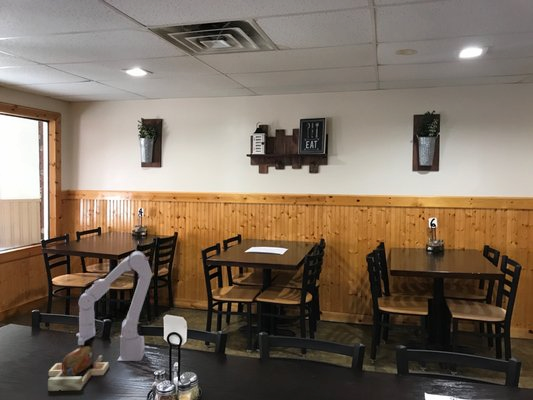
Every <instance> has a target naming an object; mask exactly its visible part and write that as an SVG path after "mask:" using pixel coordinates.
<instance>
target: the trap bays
mask: <svg viewBox="0 0 533 400" xmlns="http://www.w3.org/2000/svg"><path fill="white" fill-rule="evenodd" d="M109 365H110V364H109V361H106V362H105V361H103V362H102V361H101V362H97V363H96V368H91V369H92V370H91V376H104V374H105V373H106V372H107V370H108V369H109ZM61 370H62V362H56V363H55V364H54V365H53V366H52V367H51V368H50V369H49V370H48V377H56V376H57V375H58V374H59V372H60V371H61Z"/></svg>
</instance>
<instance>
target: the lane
mask: <svg viewBox="0 0 533 400" xmlns="http://www.w3.org/2000/svg"><path fill="white" fill-rule="evenodd" d="M102 361H103V355H102V354H101V355H98V356H97V358H96V360H95V361H94V362H92V363H93V365H92V366H93V368H96V363H97V362H102ZM93 368H89V369H88V370H87V371H86V372H85V374H84V376H81V375H80V376H76V375H75V376H65V375H64V374H63V372H62V370H61V371H60V372H59V374H58V375H57V376H49V378H48V379H47V391H48V392H55V391H56V392H57V391H58V392H59V390H61V391H62V392H63V391H81V390H82V389H83V387H84V386H85V384H86V383H87V382H88V380H89V379H90V377H91V376H92V375H91V370H92V369H93ZM61 391H60V392H61Z"/></svg>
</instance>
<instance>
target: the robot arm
mask: <svg viewBox="0 0 533 400" xmlns="http://www.w3.org/2000/svg"><path fill="white" fill-rule="evenodd" d="M132 269H133V270H134V271H135V272H136V273H137V274H138V277H139V278H138V280H137V281H138V282H137V285H136V288H135V291H134V294H133V297H132V300H131V304H130V306H129V310H128V311H127V315H126V317H125V318H124V319H123V321H122V323H121V330H120V334H121V335H119V336H120V339H119V340H120V347H119V348H120V350H119V351H120V355H119V357H118V359H117V362H141V361H142V359H143V357H144V356H145V352H146V351H145V337H144V336H143V335H139V333H138V323H139V319H140V314H141V311H142V308H143V305H144V302H145V298H146V297H147V292H148V290H149V287H150V283H151V279H152V278H153V273H152V269H151V266H150V263H149V259H148V257H147V256H146V255H145V253H144V252H142V251H139V250H136V251H133V252H131V254H130V255H128V256H127V257H125V258H124V259H123V260H122V261H120V263H118V265H117V266H116V267H115V268H114V269H113V270H111V271H110V272H109V273H108V274H107V276H106V277H105V278H100V279H97V280H95V281H94V282H93V284H92V286H90V287H89V288H88V289H85V291H84V293H82V294H81V295H80V297H79V299H78V301H77V302H78V303H77V304H78V307H79V309H78V310H79V312H78V323H79V324H78V328H79V329H78V330H79V332H78V333H76V337H78V339H77V345H78V346H80V347H82V346H90V347H91V348H92V349H93V345H94V343H95V340H96V338H97V337H96V326H95V302H97V301H99V300H100V299H101V298H102V297H103V296H104V295H105V294H106V293H107V292H108V291H109V290H110V288H111V286H110V285H111V284H112V283H113V282H114V281H115V280H116V279H118V278H119V277H120V276H121V275H122V274H123V273H124V272H130V271H132Z"/></svg>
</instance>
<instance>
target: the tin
mask: <svg viewBox="0 0 533 400" xmlns="http://www.w3.org/2000/svg"><path fill="white" fill-rule="evenodd" d="M94 356H95V355H94V350H93V347H92V348H91V347H90V346H82V347H81V346H80V347H78V348H76V349H75V350H73V351H71V352H69V353H67V354H66V355H65V356H64V358H63V360H62V362H61V363H62V372H63V374H64V376H65V377H75V376H76V375H78V374H80V373H81V372H82V371H85V370H86V369H87V368H89V367H90V366H91V365H92V363H93V360H94Z"/></svg>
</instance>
